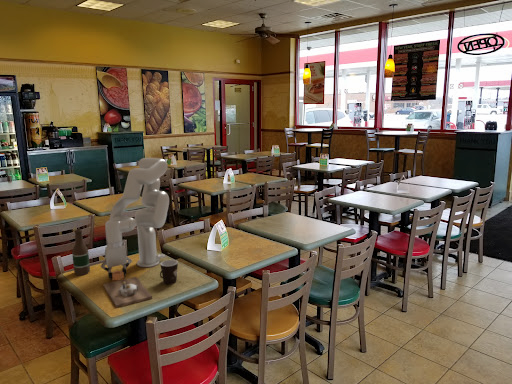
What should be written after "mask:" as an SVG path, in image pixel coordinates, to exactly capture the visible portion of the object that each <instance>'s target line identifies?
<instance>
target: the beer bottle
mask: <svg viewBox="0 0 512 384" xmlns="http://www.w3.org/2000/svg"><path fill="white" fill-rule="evenodd" d="M74 239H75V241H74V242H75V243H74V246H73V249H72V255H71V256H72V263H73V271H74V274H75V275H76V276H85V275H87V274H90V271H91V267H90V255H89V248H88V247H87V245H86V244H85V243H84V237H83V229H81V228H77V229H75V230H74Z"/></svg>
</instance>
